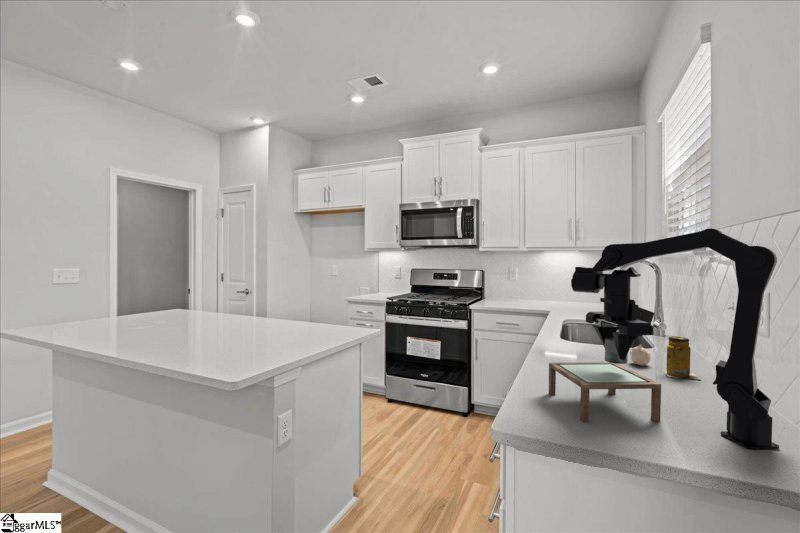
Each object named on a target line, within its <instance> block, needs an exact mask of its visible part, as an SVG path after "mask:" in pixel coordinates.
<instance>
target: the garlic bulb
mask: <svg viewBox="0 0 800 533" xmlns="http://www.w3.org/2000/svg"><path fill="white" fill-rule="evenodd" d="M629 357H630V361H631V362H632V363H634V364H636V365H638V366H641V367H642V366H646V365H648V364H650V362H651V359H652V358H651V353H650V352H649V351H647V349H646V348H644V347H643V346H642V344H641V343H640V344H639V345H637V346H635V347H632V349H631V351H630V352H629Z"/></svg>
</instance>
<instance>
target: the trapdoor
mask: <svg viewBox="0 0 800 533" xmlns="http://www.w3.org/2000/svg"><path fill="white" fill-rule="evenodd" d="M560 367H561V368H563V369H565V370H566V371H568V372H569V373H571V374H573V375H574V376H576V377H577V378H579V379H581V380H582V381H584V382H585V383H639V382H647V381H645V380H643V379H641V378H638V377H636V376H634V375H632V374H630V373H628V372H626V371H624V370H622V369H619V368H617V367H615V366H613V365H611V364H586V365H560Z"/></svg>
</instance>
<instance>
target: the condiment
mask: <svg viewBox="0 0 800 533" xmlns="http://www.w3.org/2000/svg"><path fill="white" fill-rule="evenodd" d="M691 349H692V348H691V347H690V339H689V338H687V337H685V336H684V337H683V336H679V335H678V336H677V335H676V336H675V335H674V336H673V335H672V336H669V337H668V344H667V345H666V370H662V371H663V372H664V374H665V375H667V377H669V378H675V379H676V378H677V379H689V380H700V381H702V379H701V378H700V377H699V376H697V374H696V373H692V372H691V353H692V352H691Z"/></svg>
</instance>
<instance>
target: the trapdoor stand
mask: <svg viewBox="0 0 800 533" xmlns="http://www.w3.org/2000/svg"><path fill="white" fill-rule="evenodd" d="M586 364H611V365H613V366H615V367H617V368H619V369H622V370H624V371H626V372H628V373H630V374H632V375H634V376H636V377H638V378H641V379H643V380H645V381H647V382H639V383H585V382H584V381H582V380H581V379H579V378H577V377H576V376H574V375H573V374H571V373H569V372H568V371H566V370H565V369H563V368H561V367H560V365H586ZM556 372H557V373H558V374H560V375H561V376H563V377H564V378H566V379H567V380H569V382H572V383H573V384H575V385H576V386H577V387H579V388H580V408H579V410H580V412H579V413H580V419H579V420H580V421H581V422H582V423H590V390H607V393H608V394H610V395H611V396H612V395H616V392H617V390H639V389H640V390H641V389H643V390H644V389H646V390H647V389H648V390H649V389H650V390H651V391H650V392H651V396H650V398H651V399H650V402H651V403H650V419H651V420H652V421H654V422H661V414H662V413H661V412H662V411H661V404H662V402H661V401H662V383H660V382H657V381H655V380H653V379H651V378H649V377H647V376H644V375H642V374H640V373H639V372H636V371H634V370H631V369H629V368H626V367H624V366H622V364H616V363H610V362H607V361H605V362H604V361H603V362H602V361H598V362H595V361H594V362H593V361H591V362H589V361H588V362H585V361H584V362H583V361H582V362H577V361H575V362H548V395H550V396H556V389H557V388H556V383H557V382H556V381H557V379H556V376H557V373H556Z"/></svg>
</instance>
